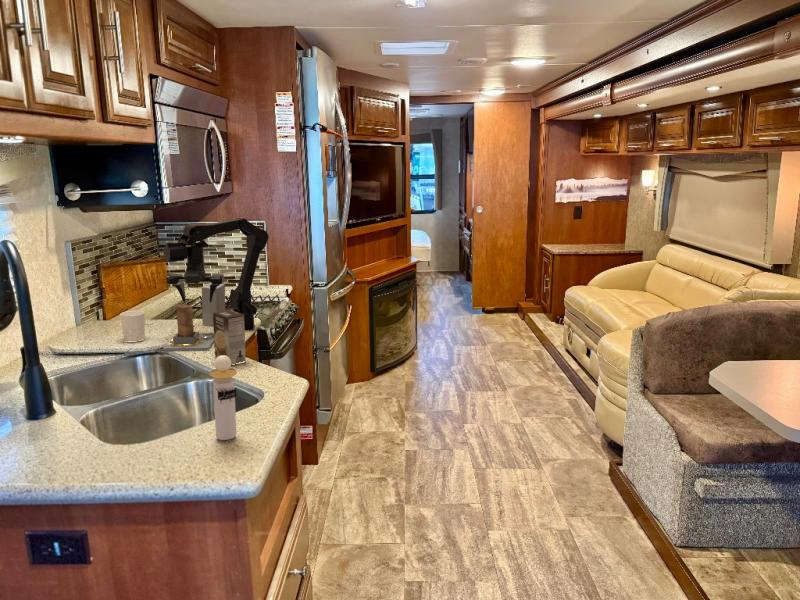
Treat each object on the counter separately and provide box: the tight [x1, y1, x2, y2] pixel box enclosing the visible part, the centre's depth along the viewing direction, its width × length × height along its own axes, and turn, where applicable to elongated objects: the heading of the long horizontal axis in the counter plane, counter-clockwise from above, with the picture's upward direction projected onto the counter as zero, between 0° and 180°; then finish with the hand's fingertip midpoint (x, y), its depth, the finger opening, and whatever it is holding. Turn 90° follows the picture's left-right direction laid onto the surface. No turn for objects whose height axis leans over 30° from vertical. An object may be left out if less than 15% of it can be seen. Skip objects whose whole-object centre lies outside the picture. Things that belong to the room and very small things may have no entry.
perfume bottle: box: [209, 355, 238, 441], centre depth 134 cm, size 6×6×20 cm
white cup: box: [119, 310, 146, 342], centre depth 211 cm, size 8×8×10 cm
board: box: [162, 333, 214, 352], centre depth 209 cm, size 15×18×1 cm
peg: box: [176, 304, 195, 337], centre depth 204 cm, size 4×4×12 cm
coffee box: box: [212, 309, 247, 365], centre depth 189 cm, size 9×6×16 cm
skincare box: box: [201, 282, 226, 327], centre depth 234 cm, size 8×7×16 cm
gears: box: [169, 331, 214, 348], centre depth 208 cm, size 14×16×3 cm
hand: (197, 302), depth 214 cm, fingers open, 9 cm apart
